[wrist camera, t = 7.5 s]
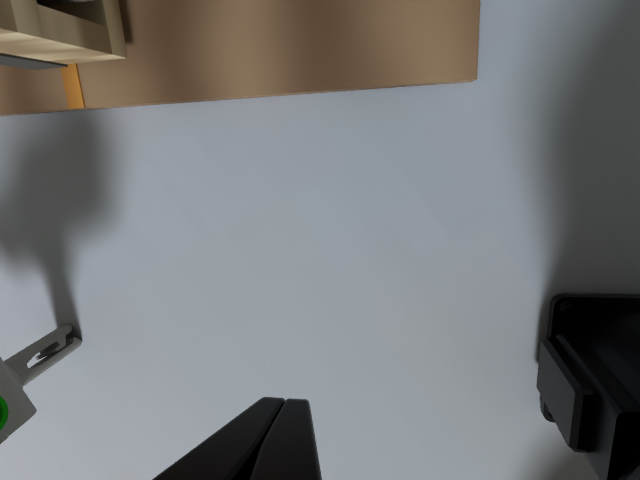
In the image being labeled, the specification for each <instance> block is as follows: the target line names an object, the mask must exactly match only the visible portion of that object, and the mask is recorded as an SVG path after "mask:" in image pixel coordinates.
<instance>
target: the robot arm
mask: <svg viewBox="0 0 640 480" xmlns="http://www.w3.org/2000/svg"><path fill="white" fill-rule="evenodd" d="M564 302H568V303H569V305H568V307H566V308H565V309H560V305H561V304H562V303H564ZM537 389H538V390H539V392H540V394H541V406H540V408H541V412H542V414H543V416H544V417H545V419H546V420H548V421H549V422H555V423H556V424H557V426H558V428H559V430H560V432H561V434H562V436H563V438H564V439H565V441H566V443H567V445H568V446H569V447H570V448H571V449H572V450H573V451H574V452H580V453H584V454H585V455H586V457H587V459H588V461H589V462H590V464H591V466H592V468H593V469H594V471H595V473H596V475H597V476H598V478H599V480H640V295H638V294H568V293H563V294H558V295H556V296H555V297H554V298H553V299H552V301H551V304H550V314H549V324H548V335H547V337H545V338H544V339H543V340H542V341H541V344H540V354H539V365H538V376H537ZM549 411H550V412H549ZM152 480H322V477H321V471H320V465H319V459H318V453H317V447H316V440H315V434H314V428H313V422H312V416H311V410H310V404H309V401H308V400H306V399H287V400H285V399H283V398H275V397H263V398H261V399H260V400H259V401H257V402H256V403H254V404H253V405H252V406H250V407H249V408H248V409H246V410H245V411H244V412H242V413H241V414H240V415H238V416H237V417H236V418H234V419H233V420H232V421H230V422H229V423H228V424H226V425H225V426H224V427H222V428H221V429H220V430H218V431H217V432H215V433H214V434H213V435H211V436H210V437H209V438H207V439H206V440H205V441H203V442H202V443H201V444H199V445H198V446H197V447H195V448H194V449H193V450H191V451H190V452H189V453H187V454H186V455H185V456H183V457H182V458H181V459H179V460H178V461H176V462H175V463H174V464H172V465H171V466H170V467H168V468H167V469H166V470H164V471H163V472H162V473H160V474H159V475H158V476H156V477H155V478H154V479H152Z"/></svg>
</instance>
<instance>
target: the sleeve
mask: <svg viewBox="0 0 640 480" xmlns="http://www.w3.org/2000/svg"><path fill="white" fill-rule="evenodd" d="M0 53H4V54H10V55H15V56H21V57H27V58H33V59H39V60H44V61H50V62H56V63H62V64H73V63H83V62H94V61H104V60H114V59H125V58H128V57H127V51H126V45H125V38H124V32H123V26H122V20H121V14H120V8H119V2H118V0H93V1H85V2H77V3H70V4H62V5H54V6H46V7H45V6H41V5H38V4H37V1H36V0H0Z"/></svg>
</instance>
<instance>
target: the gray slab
mask: <svg viewBox="0 0 640 480" xmlns="http://www.w3.org/2000/svg"><path fill="white" fill-rule="evenodd" d="M0 65H5V66H12V67H19V68H26V69H34V70H41V69H52V68H62V67H68V65H67V64H62V63H56V62H50V61H44V60H39V59H33V58H27V57H21V56H15V55H10V54H4V53H0Z"/></svg>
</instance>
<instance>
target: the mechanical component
mask: <svg viewBox="0 0 640 480" xmlns="http://www.w3.org/2000/svg"><path fill="white" fill-rule="evenodd" d="M71 331H72V326H71V325H62V326H61V327H59V328H57V329H56V330H54V331H53V332H51V333H49V334H48V335H46V336H44V337H43V338H41V339H40V340H38V341H36V342H35V343H33V344H31V345H30V346H28V347H26V348H25V349H23V350H22V351H20V352H18V353H17V354H15V355H13V356H12V357H10V358H9V359H7V360H5V361H4V362H3V360H2V359H1V357H0V444H1V443H2V442H3V441H4V440H6V439H7V438H8V436H9V435H10V434H12V433H13V432H14V431H15V430H17V429H18V428H19V427H20V426H21V425H23V424H24V423H25V422H26V421H28V420H29V419H30V418H31V417H32V416H33V415H34V414H35V413H36V411H37V410H36V408H35V407H34V405H33V404H32V402H31V401H30V399H29V398H28V397H27V395H26V394H25V392H24V391H23V388H22V387H23V386H24V385H26V384H27V383H29V382H30V381H32V380H33V379H34V378H36V377H37V376H39V375H40V374H41V373H43V372H44V371H46V370H47V369H48V368H50V367H51V366H53V365H54V364H55V363H57V362H58V361H60V360H61V359H62V358H64V357H65V356H67V355H68V354H69V353H71V352H72V351H74V350H75V349H76V348H78V347H79V346H80V345H81V343H82V341H81V340H79V339H77V338H75V337H74V338H71V339H69V340H67V341H66V338H65V335H66V334H68V333H69V332H71ZM39 352H40V355H38V356H37V357H35V358H36V359H37V360H39V359H41V358H43V357H45V356H47V357H45V358H44V359H42V360H41V361H39V362H38V363H36V364H35V365H33V366H32V367H30V368H28V367H27V363H28V362H29V361H30V360H31V359H32V357H33V356H34V355H35V354H37V353H39Z"/></svg>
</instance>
